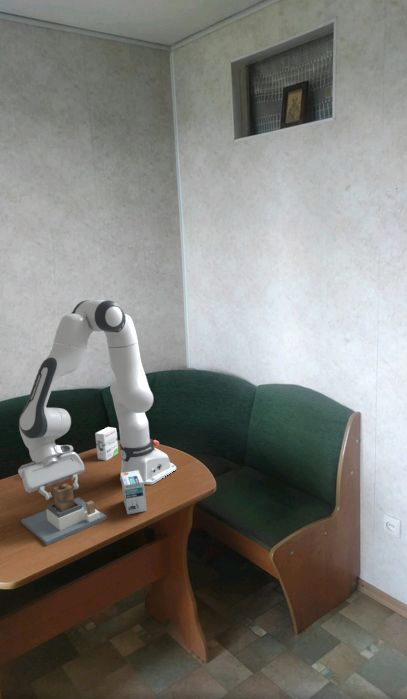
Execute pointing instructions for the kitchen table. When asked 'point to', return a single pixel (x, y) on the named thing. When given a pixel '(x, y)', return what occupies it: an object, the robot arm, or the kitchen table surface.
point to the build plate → (53, 531)
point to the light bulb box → (133, 492)
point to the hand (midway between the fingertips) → (63, 493)
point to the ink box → (106, 443)
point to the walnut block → (63, 497)
